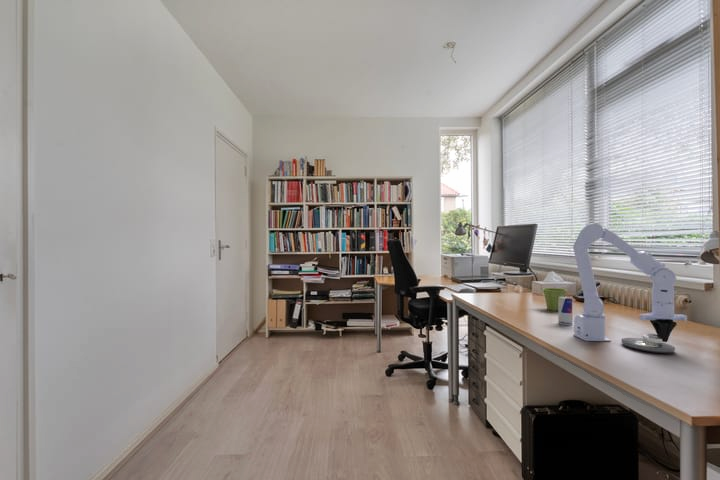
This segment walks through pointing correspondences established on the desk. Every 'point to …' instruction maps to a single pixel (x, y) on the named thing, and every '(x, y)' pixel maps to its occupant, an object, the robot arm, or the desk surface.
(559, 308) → the energy drink
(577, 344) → the desk surface
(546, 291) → the plant pot
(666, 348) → the turntable
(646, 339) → the cover
